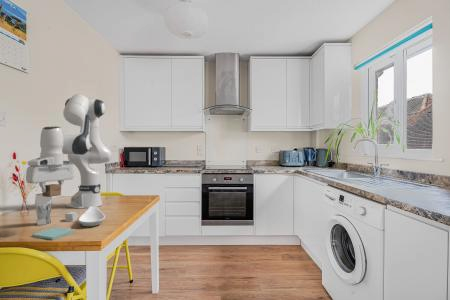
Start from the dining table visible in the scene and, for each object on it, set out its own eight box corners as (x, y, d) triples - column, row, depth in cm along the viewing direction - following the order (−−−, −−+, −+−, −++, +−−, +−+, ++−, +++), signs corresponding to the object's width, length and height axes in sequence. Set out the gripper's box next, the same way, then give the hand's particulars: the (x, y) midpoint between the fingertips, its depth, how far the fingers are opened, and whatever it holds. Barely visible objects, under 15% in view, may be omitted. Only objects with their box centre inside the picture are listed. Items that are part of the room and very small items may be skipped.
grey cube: (65, 221, 131) (65, 213, 131) (70, 219, 135) (70, 212, 135) (72, 221, 131) (72, 214, 131) (77, 219, 135) (77, 212, 135)
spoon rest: (105, 226, 123) (105, 212, 123) (77, 230, 117) (77, 215, 117) (104, 215, 144) (104, 203, 144) (80, 218, 139) (80, 205, 139)
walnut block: (42, 196, 115) (42, 185, 115) (53, 194, 119) (53, 184, 119) (50, 196, 113) (50, 185, 113) (60, 195, 118) (60, 184, 118)
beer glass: (33, 226, 123) (33, 195, 123) (36, 222, 129) (36, 193, 129) (50, 224, 126) (50, 194, 126) (52, 221, 132) (52, 192, 132)
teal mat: (32, 236, 108) (32, 234, 108) (55, 229, 118) (55, 227, 118) (52, 239, 104) (52, 237, 104) (74, 232, 114) (74, 230, 114)
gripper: (67, 160, 127) (67, 188, 127) (23, 161, 108) (23, 194, 108) (77, 160, 125) (77, 188, 125) (33, 161, 106) (33, 194, 106)
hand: (51, 191), depth 116 cm, fingers closed on walnut block, 5 cm apart
